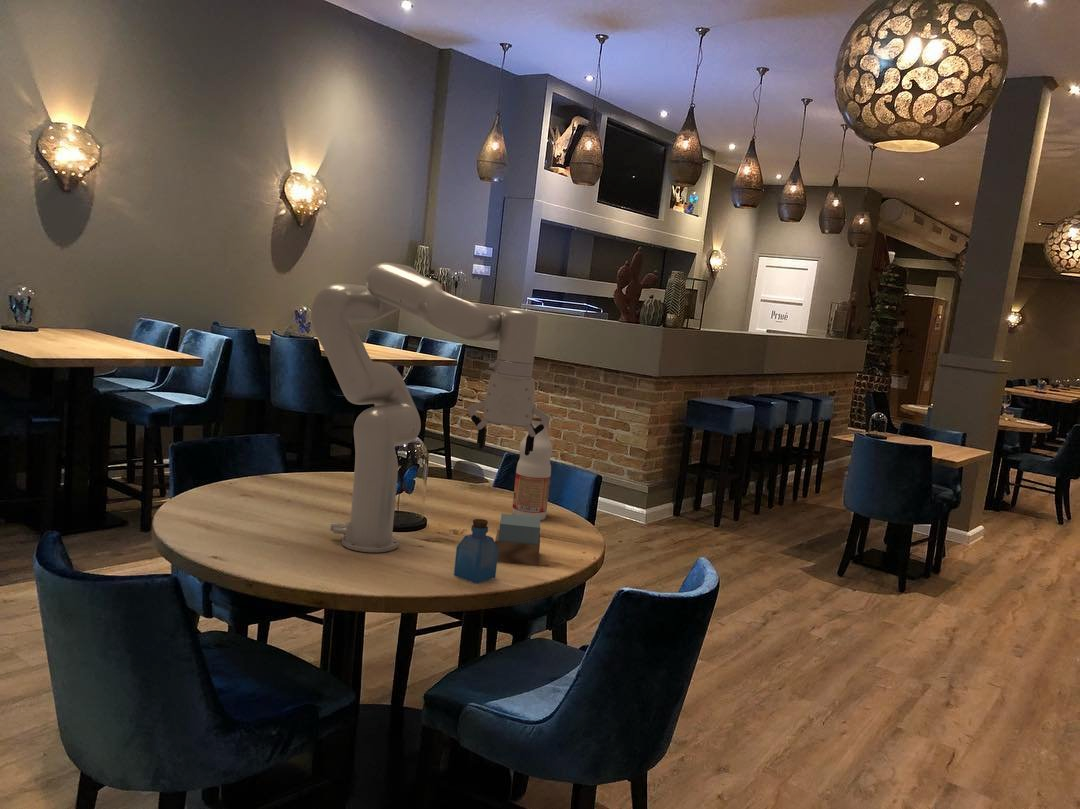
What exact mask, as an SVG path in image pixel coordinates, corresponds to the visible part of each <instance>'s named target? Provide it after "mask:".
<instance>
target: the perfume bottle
mask: <svg viewBox="0 0 1080 809" xmlns="http://www.w3.org/2000/svg"><path fill="white" fill-rule="evenodd" d="M472 523H473V524H472V525H471V529H470V530H471V533H470V534H467V535H465V536H464V537H463V538H462V539H461V541H460V542H459V543H458V544H457V546H456V549H455V550H456V551H455V559H454V570H453V576H454V575H455V576H454V577H456V576H458V577H457V578H459V577H460V578H459V579H462V578H463V580H465V579H466V580H465V581H468V582H470V581H471V582H470V583H474V584H476V585H477V584H481V583H483V582H487V581H489V579H490V580H492V578H493V579H495V578H497V577H496V576H497V566H498V565H497V564H498V562H497V558H498V547H497V545H496V544H495V540H494V538H493V537H492V536H489V535H487V533H488V531H489V526H488V523H489V521H488V520H486V519H484V518H483V519H482V518H474V519H473V520H472ZM486 580H487V581H486Z"/></svg>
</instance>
